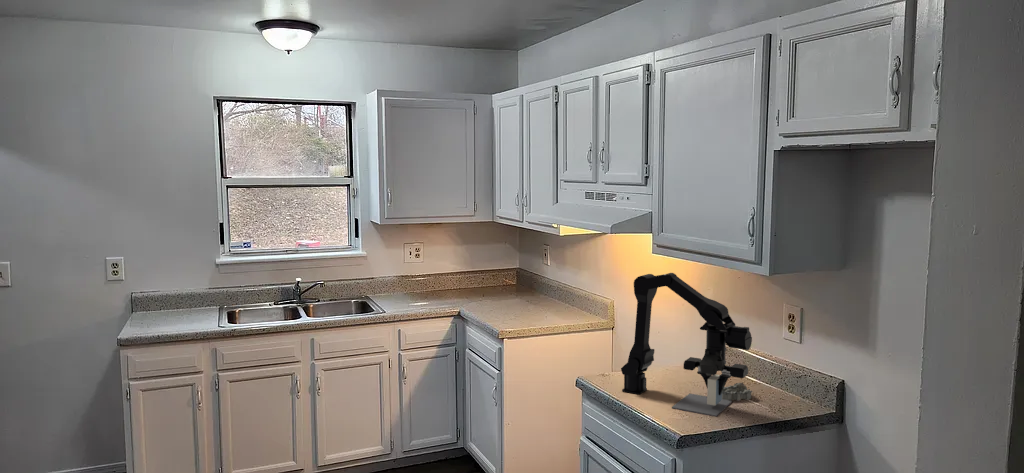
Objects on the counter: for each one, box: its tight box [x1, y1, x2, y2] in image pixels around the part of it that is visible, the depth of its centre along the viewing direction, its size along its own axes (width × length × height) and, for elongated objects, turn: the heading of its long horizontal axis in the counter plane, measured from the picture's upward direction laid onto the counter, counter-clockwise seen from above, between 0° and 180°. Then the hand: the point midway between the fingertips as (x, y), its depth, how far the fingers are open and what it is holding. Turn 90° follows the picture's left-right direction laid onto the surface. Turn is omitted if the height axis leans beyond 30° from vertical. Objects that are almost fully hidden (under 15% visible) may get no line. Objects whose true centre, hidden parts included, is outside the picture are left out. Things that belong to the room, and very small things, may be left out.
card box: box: [706, 373, 722, 406], centre depth 221 cm, size 3×6×8 cm, turn 146°
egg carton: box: [722, 382, 753, 401], centre depth 231 cm, size 11×8×4 cm
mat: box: [671, 393, 733, 417], centre depth 224 cm, size 14×16×1 cm
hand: (714, 394), depth 221 cm, fingers closed on card box, 3 cm apart
